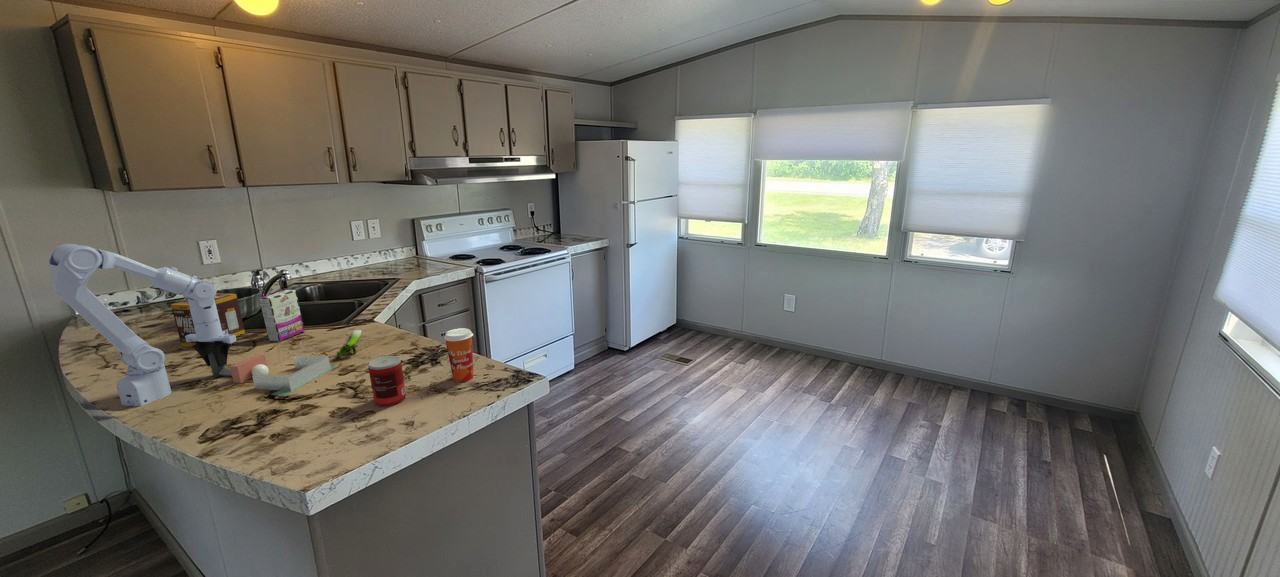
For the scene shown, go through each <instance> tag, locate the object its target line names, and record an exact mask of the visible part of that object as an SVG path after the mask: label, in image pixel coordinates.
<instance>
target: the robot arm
mask: <svg viewBox="0 0 1280 577" xmlns="http://www.w3.org/2000/svg"><path fill="white" fill-rule="evenodd" d="M47 264H48V266H49V270H50V271H49V272H50V281H51V289H52V290H53V292H54V294H56V295H58V297H60V299H62V301H64V302H65V303H66V304H67V305H69V307H70V308H72V309H73V310H74V311H75V312H76V313H77V314H78V315H79V316H80V317H82V319H84V320H85V321H86V322H87V323H88V324H89V325H90V326H92V328H94V329H95V331H97V332H98V333H99V334H100V335H101V336H103V337H104V338H105V339H106V340H107V341H108V342H109V343H110V344H111V345H112V346H113V348H114V350H116V352H117V353H118V354H119V357H120V358H119V359H120V361H121V362H122V363H123V364H125V365H127V366H128V367H127V370H126V373H127V374H126V375H125V376H124V377H123V378H120V379H119V380H117V382H116V390H117V393H118V396H119V399H120V402H121V403H120V404H121V406H133V407H137V406H138V407H143V406H144V405H147V404H149V403H152V402H154V401H157V400H160V399H162V398H165V397H168V396H169V395H170V394H172V393H173V392H172V389H171V385H170V381H169V377H168V374H167V370H166V367H165V361H166V354H165V352H164V351H163V350H161V349H159V348H157V347H154V346H151V345H150V344H149V343H148V342H147V341H146V340H144V339H143V338H141V337H140V336H138V335H137V334H136V333H135V332H134V331H133V330H132V329H131V328H130V327H128V325H127V324H125V323H124V322H123V320H121V319H120V317H118V316H117V315H116V314H115V313H113V311H112V310H111V309H110V308H108V307H107V305H105V304H104V303H103V302H102V300H100V298H98V297H97V296H96V295H95V293H93V292H92V291H91V290H90V289H89V288H88V287H87V285H88V282H89V279H90V277H91V276H92V274H94V273H95V271H96V270H97V269H102V270H108V269H109V270H110V269H116V270H119V271H121V272H125V273H128V274H132V275H135V276H138V277H139V278H140V277H141V278H144V279H148V280H149V282H150V283H151V285H152V286H153V287H155V288H158V289H160V290H164V291H166V292H169V293H173V294H176V295H178V296H183V297H184V298H189V299H188V302H189V306H190V312H191V316H192V319H193V323H194V327H195V331H196V334H190V335H187V336H185V338H186V342H196V344H195V345H192V347H191V348H192V349H193V350H195V351H196V353H198V354H199V356H200V357H201V358H202V360H203V361H204V363H205V364H206V366H207V367H211V365H210V362H209V358H208V353H210V352H212V353H213V355H214V357H215V359H216V362H217V365H218V366H219V367H221V366H226V365H227V364H228V355H229V351H230V348H231V345H232V344H233V343H235V342H237V336H235V335H230V334H227V333H225V331H222V328H221V324H220V320H219V316H218V312H217V308H216V304H215V300H214V297H215V295H216V292H217V290H218V289H217V288H215V286H214V285H213V284H212V282H209V281H207V280H202V279H199V278H198V276H196V275H195V274H194V275H193V274H192V275H190V274H186V273H183V272H180V271H179V269H178V268H177V267H174V266H170V267H167V266H164V267H160V268H155V267H152V266H149V265H146V264H144V263H141V262H139V261H136V260H134V259H131V258H129V257H126V256H123V255H120V253H119V254H118V253H116V252H113V251H108V250H104V249H99V248H98V249H97V248H93V247H91V246H88V245H79V244H77V243H64V244H60V245H59V246H56V247H55V248H54V249H53V250H52V252H51V254H50V256H49V258H48V261H47ZM191 299H193V300H191Z"/></svg>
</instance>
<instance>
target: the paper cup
mask: <svg viewBox="0 0 1280 577" xmlns="http://www.w3.org/2000/svg"><path fill="white" fill-rule="evenodd" d="M473 336H474V333H473V332H472V331H471V329H469V328H466V327H465V328H464V327H463V328H462V327H460V328H454V329H450V330H448V331H446V332H445V335H444V337H443V339H444V341H445V344H446V349H447V357H448V359H449V366H450V371H451V375H452V379H453V381H454V382H456V381H457V383H464V382H463V381H465V382H468V381H471V380H472V379H473V378H474V355H473V354H474V353H473V338H472V337H473ZM470 379H471V380H470Z"/></svg>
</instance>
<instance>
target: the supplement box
mask: <svg viewBox="0 0 1280 577" xmlns="http://www.w3.org/2000/svg"><path fill="white" fill-rule="evenodd" d="M191 300H193V299H191ZM214 300H215V304H216V308H217V312H218V316H219V320H220V324H221V328H222V331H225V333H227V334H230V335H235V336H236V337H239V336H241V335H240V334H242V335H243V334H246V330H245V328H244V323H243V318H241V313H240V309H239V304H238V300H237V295H236V294H222V293H216V295H215V297H214ZM181 301H182V300H181ZM181 301H179V302H178V301H177V302H175V303H171V304H170V307H171V311H172V314H173V315H172V316H173V318H174V322H175V326H176V329H177V333H178V337H179V341H180V345H181V347H186V348H187V347H188V348H192V345H195V344H196V342H186V338H185V336H187V335H190V334H196V331H195V327H194V323H193V319H192V316H191V312H190V306H189V302H188V300H186V301H182V302H181ZM238 335H239V336H238Z"/></svg>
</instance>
